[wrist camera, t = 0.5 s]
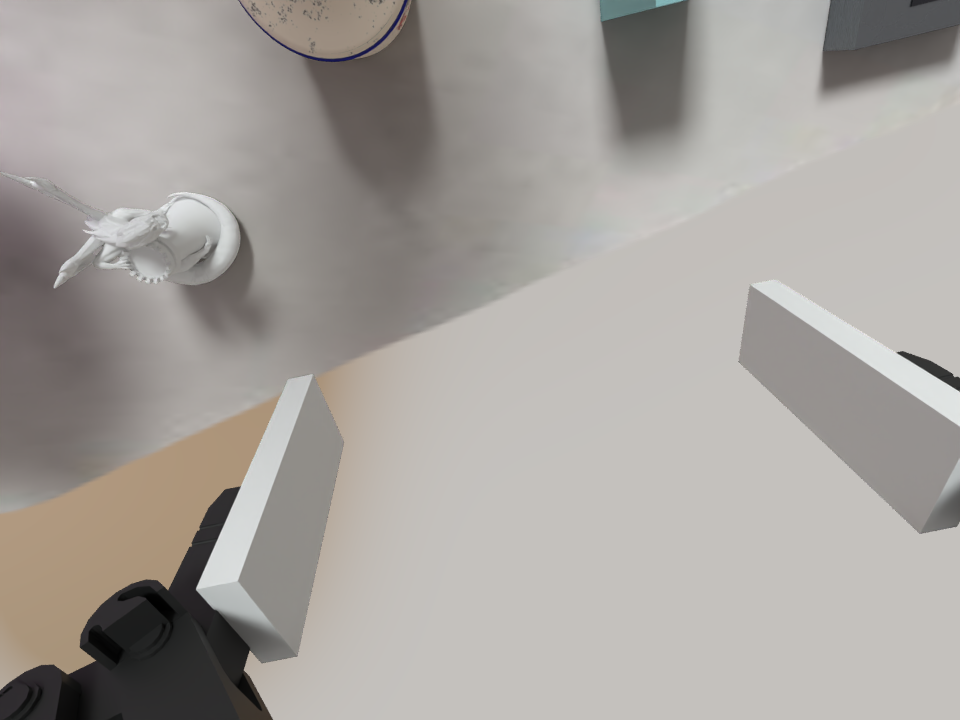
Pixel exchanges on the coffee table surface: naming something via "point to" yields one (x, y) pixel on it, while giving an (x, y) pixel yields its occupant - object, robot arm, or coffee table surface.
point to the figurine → (153, 238)
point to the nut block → (629, 7)
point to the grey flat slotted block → (885, 21)
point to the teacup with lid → (330, 25)
